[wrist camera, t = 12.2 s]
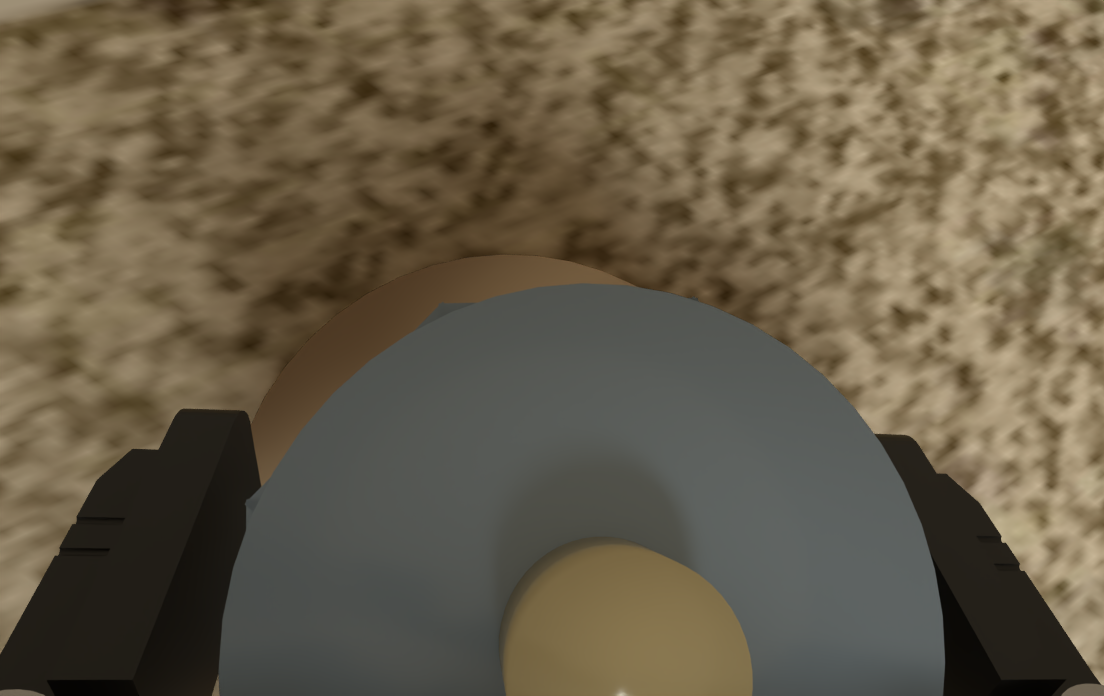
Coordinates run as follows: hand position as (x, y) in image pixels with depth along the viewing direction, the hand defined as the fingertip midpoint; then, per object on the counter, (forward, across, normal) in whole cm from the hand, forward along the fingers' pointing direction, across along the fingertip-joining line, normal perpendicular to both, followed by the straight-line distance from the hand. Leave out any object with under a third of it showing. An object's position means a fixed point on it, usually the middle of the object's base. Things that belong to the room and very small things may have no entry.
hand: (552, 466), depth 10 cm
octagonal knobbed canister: (+4, 0, +6) cm, 7 cm away
